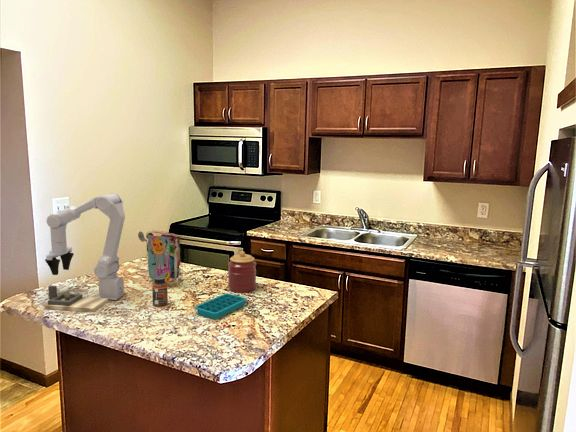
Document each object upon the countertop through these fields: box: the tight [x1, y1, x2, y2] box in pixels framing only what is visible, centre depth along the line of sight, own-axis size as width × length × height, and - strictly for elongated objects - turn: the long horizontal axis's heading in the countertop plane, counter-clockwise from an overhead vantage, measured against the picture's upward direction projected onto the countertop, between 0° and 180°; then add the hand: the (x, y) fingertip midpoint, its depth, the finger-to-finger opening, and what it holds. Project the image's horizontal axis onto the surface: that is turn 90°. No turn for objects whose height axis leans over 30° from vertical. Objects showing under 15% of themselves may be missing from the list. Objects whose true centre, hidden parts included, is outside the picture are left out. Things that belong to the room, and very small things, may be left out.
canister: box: [227, 250, 257, 293], centre depth 193 cm, size 13×13×18 cm
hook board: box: [44, 291, 109, 313], centre depth 169 cm, size 20×11×5 cm, turn 84°
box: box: [137, 230, 184, 288], centre depth 198 cm, size 25×6×24 cm, turn 62°
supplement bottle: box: [151, 277, 169, 307], centre depth 172 cm, size 6×6×11 cm
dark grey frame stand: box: [47, 284, 84, 306], centre depth 169 cm, size 11×9×6 cm
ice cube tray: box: [194, 293, 248, 320], centre depth 169 cm, size 12×20×3 cm, turn 148°
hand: (60, 272), depth 181 cm, fingers open, 7 cm apart
